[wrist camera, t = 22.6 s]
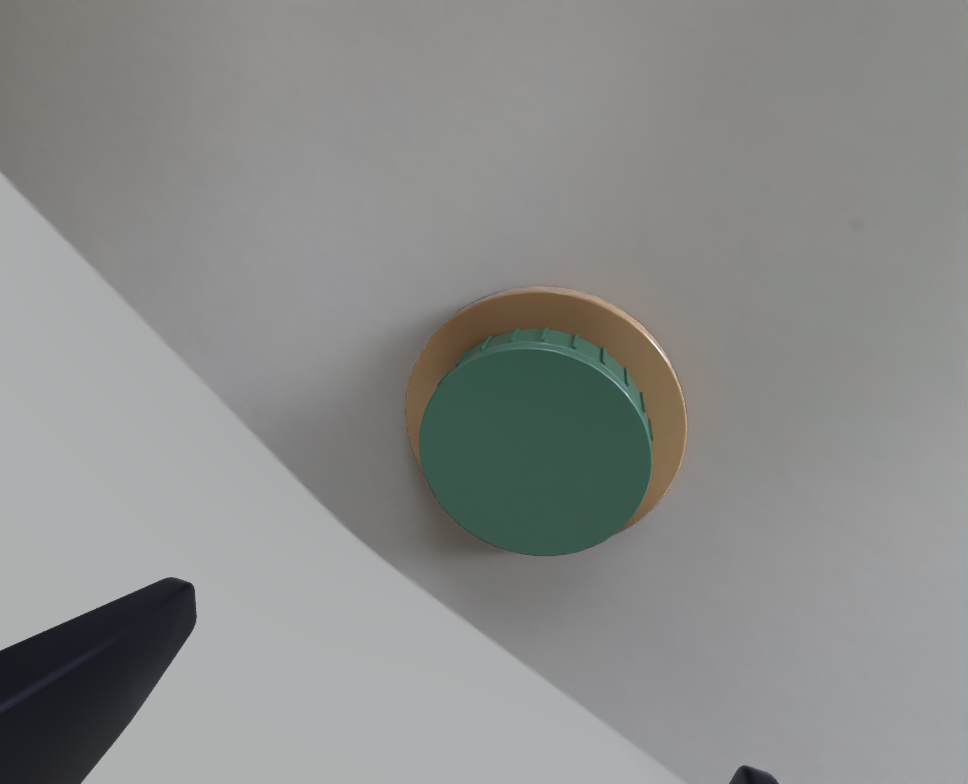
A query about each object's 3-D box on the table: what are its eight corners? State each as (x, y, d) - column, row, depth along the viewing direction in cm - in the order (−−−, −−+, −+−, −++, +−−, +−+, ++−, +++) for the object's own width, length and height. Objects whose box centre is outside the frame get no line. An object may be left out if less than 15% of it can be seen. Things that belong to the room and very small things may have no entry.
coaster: (549, 575, 20) (547, 590, 19) (365, 419, 19) (355, 428, 18) (749, 423, 16) (755, 435, 15) (530, 221, 15) (525, 223, 15)
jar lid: (530, 278, 15) (519, 291, 13) (699, 432, 16) (710, 465, 14) (398, 427, 18) (374, 455, 16) (545, 554, 19) (538, 594, 17)
